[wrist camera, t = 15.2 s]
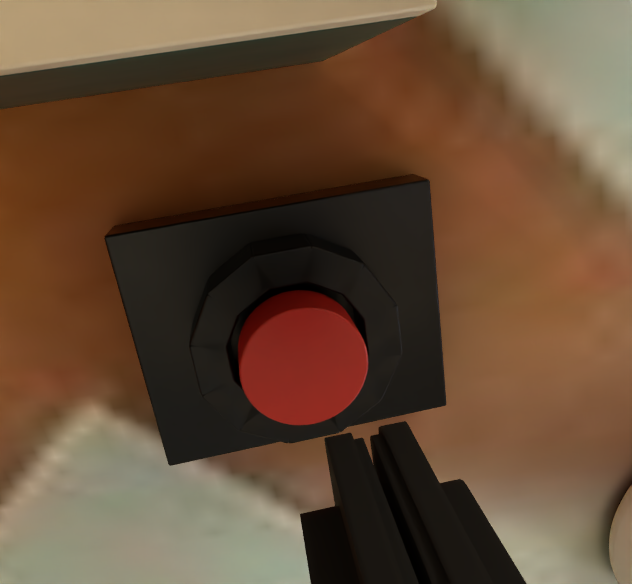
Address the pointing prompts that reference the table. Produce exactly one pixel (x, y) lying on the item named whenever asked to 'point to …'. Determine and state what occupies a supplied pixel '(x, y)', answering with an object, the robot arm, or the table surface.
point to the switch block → (267, 281)
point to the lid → (166, 25)
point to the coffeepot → (622, 540)
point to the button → (301, 358)
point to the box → (184, 64)
